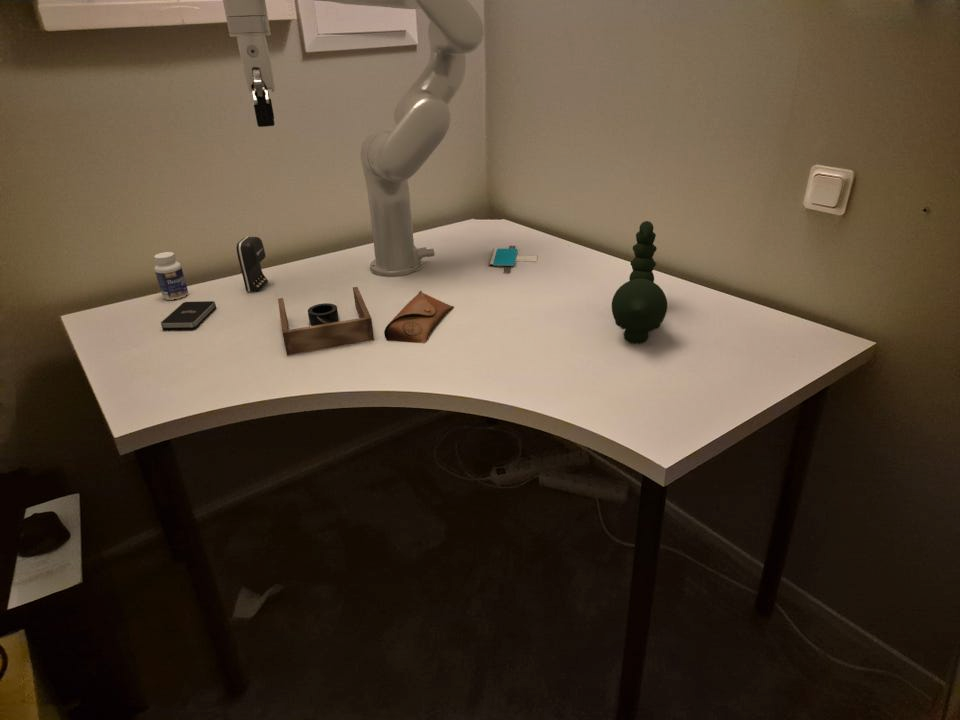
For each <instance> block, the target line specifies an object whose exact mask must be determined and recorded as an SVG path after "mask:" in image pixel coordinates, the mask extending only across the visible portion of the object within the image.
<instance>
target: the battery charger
mask: <svg viewBox="0 0 960 720" xmlns="http://www.w3.org/2000/svg"><path fill="white" fill-rule="evenodd" d="M236 254H237V258H238V263H239V268H240V272H241V275H242V278H243V282H244V284H243V285H244V288H245V291H246V292H248V293H249V292H250V293H251V292H259V291H261V290H262V289H264V287H265V286H267V284H268V283H269V280H268V279H267V277H266V276H265V275H264V272H263V270H262V266H261V263H262V261H263V260H264V259H266V251H265V247H264V243H263V240H262V239H261V238H260V237H258V236H249V235H248V236H245V237H243V238H242V239H240V240H239V241H237V243H236Z"/></svg>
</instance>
